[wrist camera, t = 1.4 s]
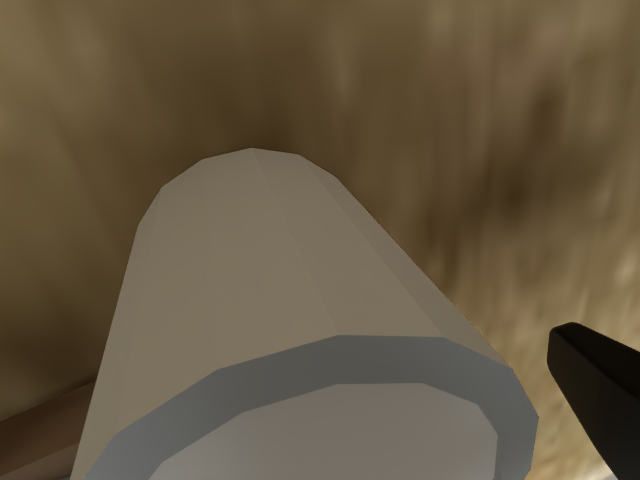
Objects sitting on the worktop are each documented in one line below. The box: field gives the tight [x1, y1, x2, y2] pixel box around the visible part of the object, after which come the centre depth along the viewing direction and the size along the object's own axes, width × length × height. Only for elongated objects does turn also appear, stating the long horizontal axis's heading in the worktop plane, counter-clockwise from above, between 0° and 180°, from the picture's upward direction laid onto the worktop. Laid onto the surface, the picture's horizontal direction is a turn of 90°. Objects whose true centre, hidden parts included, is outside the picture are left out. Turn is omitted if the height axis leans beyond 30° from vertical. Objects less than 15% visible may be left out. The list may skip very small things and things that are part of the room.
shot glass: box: [70, 148, 539, 480], centre depth 10 cm, size 7×7×7 cm
